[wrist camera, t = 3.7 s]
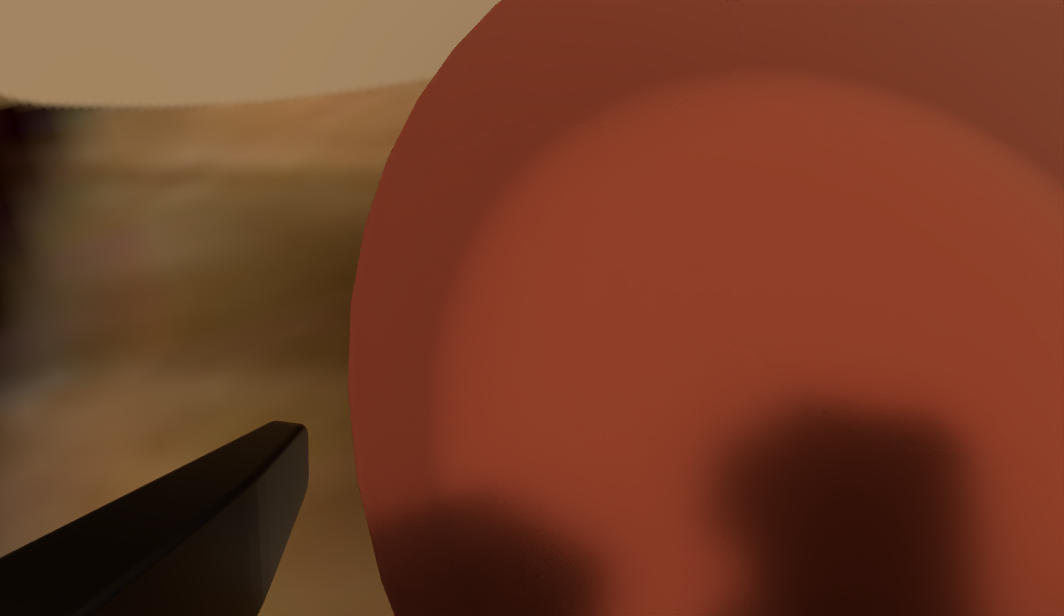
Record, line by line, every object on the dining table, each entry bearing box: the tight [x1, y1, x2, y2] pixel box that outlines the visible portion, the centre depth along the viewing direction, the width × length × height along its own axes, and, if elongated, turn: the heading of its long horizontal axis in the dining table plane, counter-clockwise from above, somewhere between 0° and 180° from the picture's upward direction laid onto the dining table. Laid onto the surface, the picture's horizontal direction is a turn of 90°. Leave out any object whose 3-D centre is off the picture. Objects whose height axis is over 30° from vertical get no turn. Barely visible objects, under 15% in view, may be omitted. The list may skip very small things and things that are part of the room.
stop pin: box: [348, 0, 1064, 616], centre depth 9 cm, size 6×6×15 cm
